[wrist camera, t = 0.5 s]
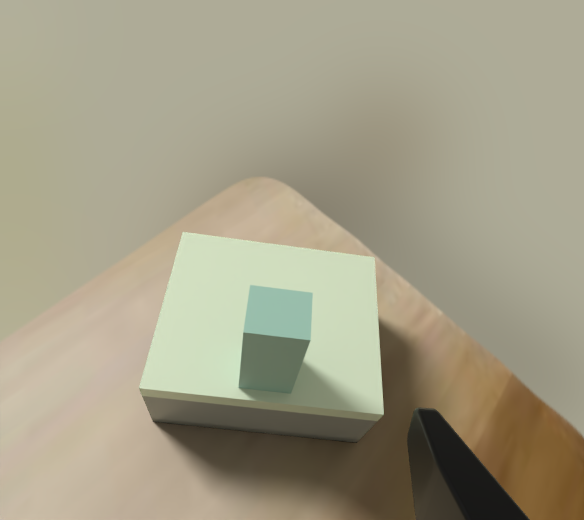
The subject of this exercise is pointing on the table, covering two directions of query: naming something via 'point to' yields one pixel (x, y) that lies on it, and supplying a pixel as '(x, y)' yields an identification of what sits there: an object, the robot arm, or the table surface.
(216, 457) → the table surface
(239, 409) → the tub
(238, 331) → the lid
